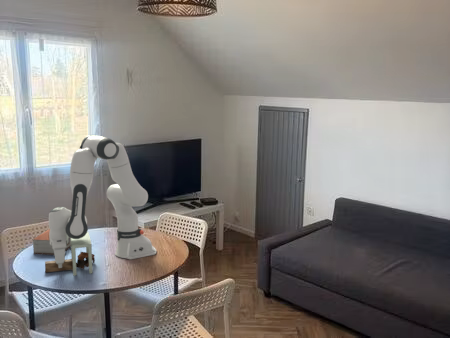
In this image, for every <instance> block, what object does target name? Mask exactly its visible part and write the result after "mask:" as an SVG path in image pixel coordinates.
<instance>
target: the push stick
mask: <svg viewBox="0 0 450 338" xmlns="http://www.w3.org/2000/svg"><path fill="white" fill-rule="evenodd" d="M44 271H45V273H52V272H54V273H55V272H63V271H72V272H73V259H72V257H71V258H68V259H66V258H65V260H64V263H63V264H62V268H58V264H56V261H55V260H48V261H44Z"/></svg>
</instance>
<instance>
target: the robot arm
mask: <svg viewBox="0 0 450 338" xmlns="http://www.w3.org/2000/svg"><path fill="white" fill-rule="evenodd" d="M127 153H128V152H127V151H126V148H125V146H124V145H123V144H122V143H120V142H115V140H114V139H111V138H108V137H106V136H102V135H96V134H90V135H89V134H88V135H86V136H85V137H84V138H83V139H82V141H81V144H80V146H79V149H78V150H76V151H74V153H73V155H72V159H71V161H70V167H69V168H70V169H69V182H70V184H69V185H70V189H71V195H72V197H71V198H72V201H71V203H72V204H71V209H68V208H66V207H65V206H58V207H55V208H53V209H51V210H50V211H49V213H48V228H49V229H50V233H49V240H50V245H51V246H52V249H53V250H54V255H53V256H54V258H55V259H54V261H56V264H58V268H62V264H63V263H64V260H66V258H65V257H66V251H65V248H66V246H67V243H68V242H69V239H68V236H69V237H70V238H73V239H80V238H82V237H84V236H85V235H86V233H87V232H89V231H88V229H89V228H88V217H87V216H86V205H87V199H88V195H89V192H90V189H91V187H92V183H93V179H94V175H95V174H94V170H95V164H96V161H97V160H98V159H101V160H106V162H107V165H108V170H109V172H110V173H109V174H110V176H111V179H112V181H113V182H115V183H114V184H111V185H109V187H108V188H107V190H106V197H107V199H108V200H109V201H110V203H111V204H112V206H113V209H114V211H115V215H116V221H117V222H116V223H117V229H116V240H117V242H116V244H117V245H116V250H115V254H114V255H115V256H116V257H118V258H122V259H127V260H135V259H139V258H143V257H144V258H145V257H149V256H154V255H156V254H157V249H156V248H155V246H153V244H152V241H151V239H150V238H148V237H147V236H145V235H144V232H145V231H144V230H143V229H141V228H140V227H139V216H138V213H137V212H136V211H135V210H134V209H133V207H135V208H137V207H143V206H145V205H146V203H147V202H148V199H149V194H148V191H147V190H146V189H145V188H143V186H141V184H140V183H139V182H138V180H137V178H136V177H135V175H134V173H133V171H132V170H133V169H132V167H131V166H132V165H131V163H130V159H129V156H128V154H127Z"/></svg>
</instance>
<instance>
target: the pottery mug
mask: <svg viewBox="0 0 450 338" xmlns="http://www.w3.org/2000/svg"><path fill="white" fill-rule="evenodd" d="M95 261H96V259H95V254H93V253H92V264H95ZM85 267H86V268H89V255H88V253H86V252H85V251H80V252H79V254H78V255H77V256H76V268H78V269H80V270H81V269H83V270H84V269H85Z"/></svg>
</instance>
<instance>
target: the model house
mask: <svg viewBox="0 0 450 338" xmlns="http://www.w3.org/2000/svg"><path fill="white" fill-rule="evenodd" d="M49 233H50V228H49V229H47V230H46V231H44V232H42V233H41V234H39V235H37V236H35V238H32V248H33V255H38V256H39V255H41V256H42V255H44V256H47V255H48V256H55V255H54V250H53V249H52V246H51V245H50V240H49ZM68 239H69V242H68V243H67V246H66V248H65V252H67V251H68V250H69V249H71V238H70V237H69V236H68Z"/></svg>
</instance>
